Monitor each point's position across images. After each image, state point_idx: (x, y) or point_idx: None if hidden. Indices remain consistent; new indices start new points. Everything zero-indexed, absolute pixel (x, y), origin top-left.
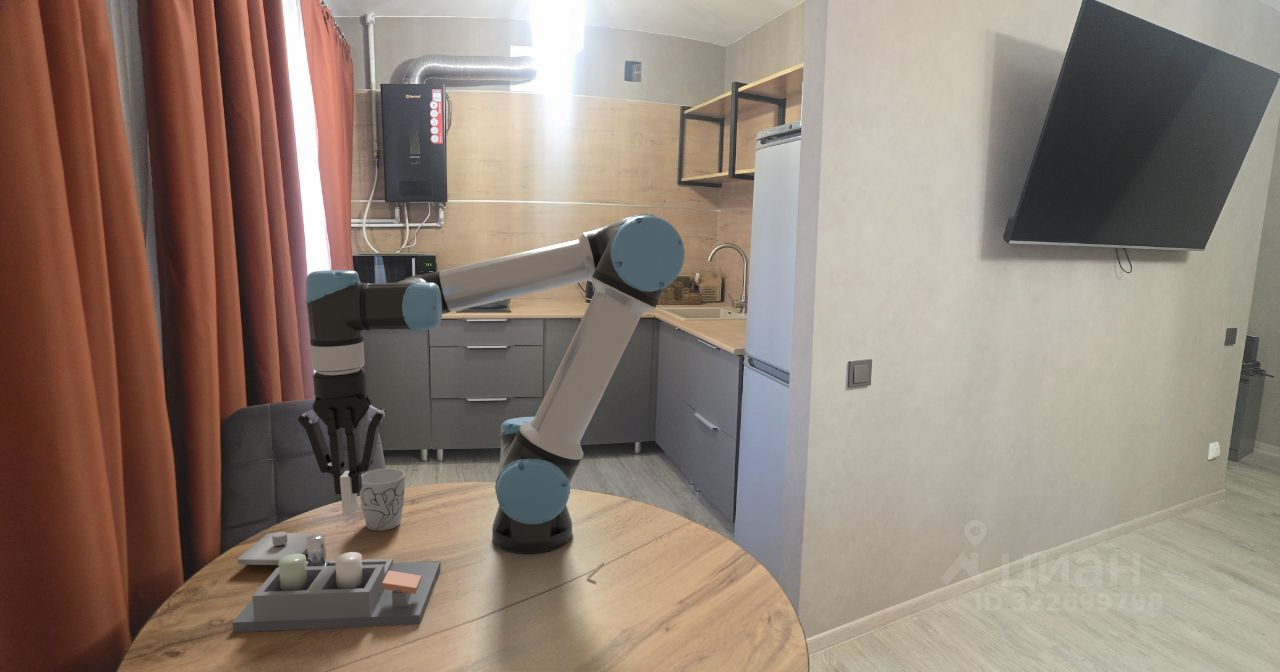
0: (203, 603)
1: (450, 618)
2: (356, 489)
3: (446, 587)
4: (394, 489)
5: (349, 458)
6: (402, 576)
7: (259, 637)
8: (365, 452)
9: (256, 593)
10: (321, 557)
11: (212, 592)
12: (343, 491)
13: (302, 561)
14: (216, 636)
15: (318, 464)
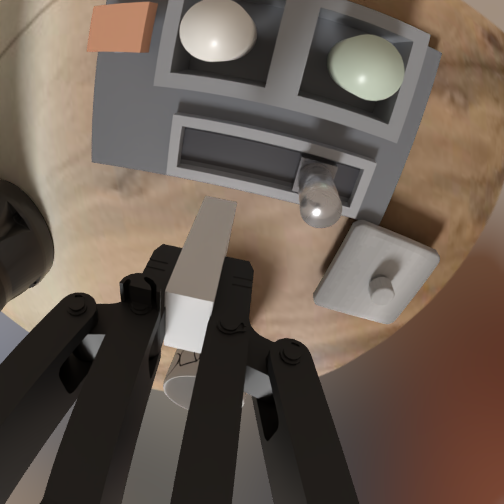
0: (475, 168)
1: (76, 5)
2: (164, 255)
3: (84, 95)
4: (178, 363)
5: (129, 375)
6: (115, 37)
7: (391, 15)
8: (29, 371)
9: (425, 41)
10: (306, 175)
11: (464, 198)
12: (214, 252)
13: (343, 46)
14: (453, 54)
15: (318, 383)
